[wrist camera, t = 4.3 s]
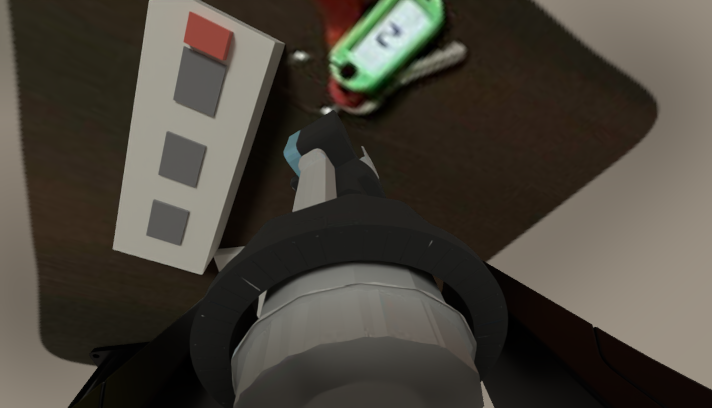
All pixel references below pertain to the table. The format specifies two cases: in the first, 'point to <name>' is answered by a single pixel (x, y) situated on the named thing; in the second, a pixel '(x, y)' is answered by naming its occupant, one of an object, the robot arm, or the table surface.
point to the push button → (348, 299)
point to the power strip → (191, 130)
